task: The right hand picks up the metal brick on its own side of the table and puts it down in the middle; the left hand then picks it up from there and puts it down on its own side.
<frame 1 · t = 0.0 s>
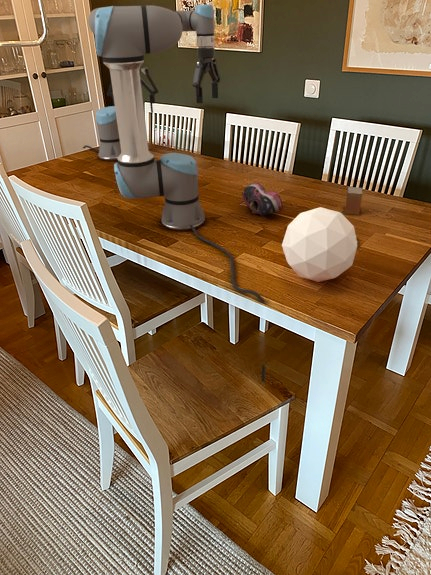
left hand: (207, 100, 200), 28 cm above the table, tool pointing down, fingers open, 13 cm apart
right hand: (135, 113, 181), 28 cm above the table, tool pointing down, fingers open, 13 cm apart
decorative object: (328, 239, 142), on the table
sphere: (315, 275, 123), on the table
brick: (352, 211, 160), on the table
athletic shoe: (257, 211, 163), on the table
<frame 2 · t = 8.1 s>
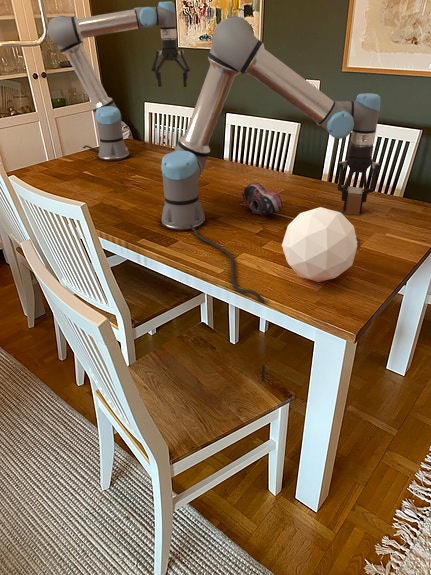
left hand: (172, 86, 227), 30 cm above the table, tool pointing down, fingers open, 13 cm apart
right hand: (352, 209, 160), 1 cm above the table, tool pointing down, fingers closed on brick, 5 cm apart
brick: (352, 211, 160), on the table, touching right hand
everything else where it was.
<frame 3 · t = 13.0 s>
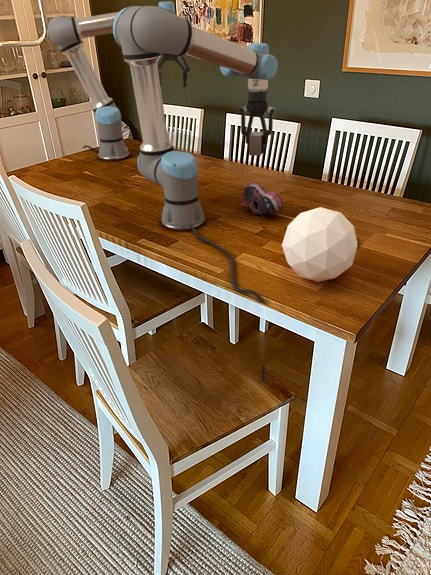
left hand: (172, 86, 227), 30 cm above the table, tool pointing down, fingers open, 13 cm apart
right hand: (256, 152, 179), 14 cm above the table, tool pointing down, fingers closed on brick, 5 cm apart
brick: (256, 153, 180), point 13 cm above the table, touching right hand
everything else where it was.
when the right hand's fingers open (2 cm above the table, at t = 17.8 s): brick drops 1 cm, on the table.
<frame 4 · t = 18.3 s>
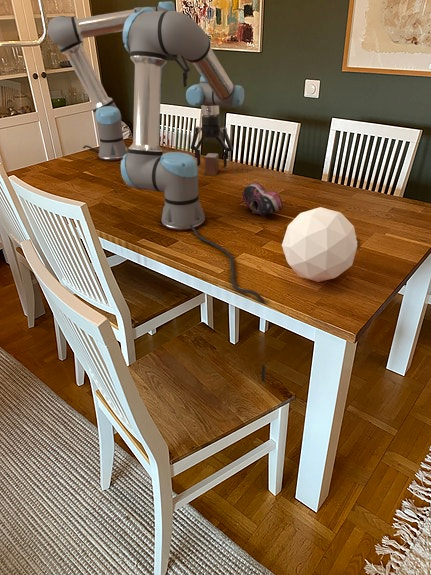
left hand: (172, 86, 227), 30 cm above the table, tool pointing down, fingers open, 13 cm apart
right hand: (212, 165, 200), 3 cm above the table, tool pointing down, fingers open, 11 cm apart
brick: (212, 172, 201), on the table
everything else where it was.
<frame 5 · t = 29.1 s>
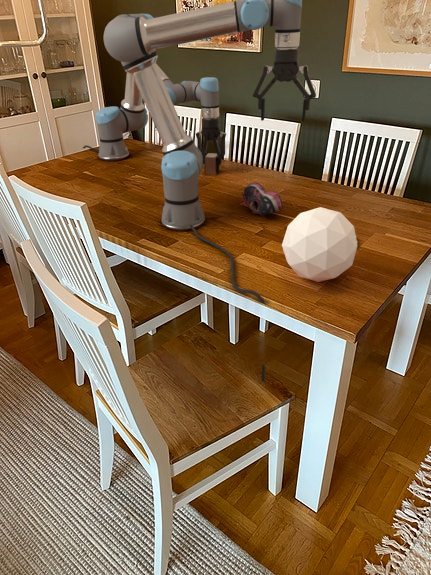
left hand: (212, 171, 201), 1 cm above the table, tool pointing down, fingers closed on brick, 5 cm apart
right hand: (282, 120, 148), 31 cm above the table, tool pointing down, fingers open, 13 cm apart
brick: (212, 172, 201), on the table, touching left hand
everything else where it was.
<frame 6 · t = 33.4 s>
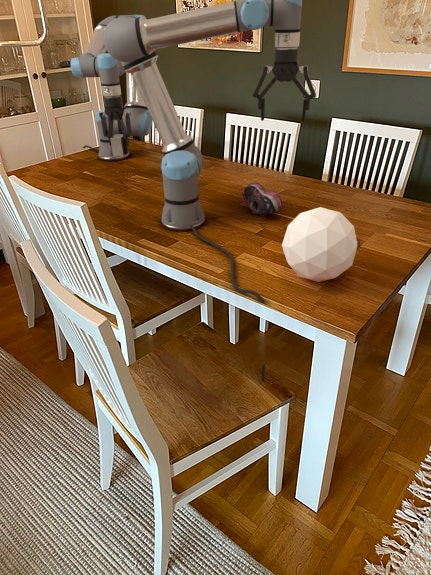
left hand: (120, 153, 194), 11 cm above the table, tool pointing down, fingers closed on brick, 5 cm apart
right hand: (282, 120, 148), 31 cm above the table, tool pointing down, fingers open, 13 cm apart
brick: (120, 154, 194), point 10 cm above the table, touching left hand
everything else where it was.
when the left hand's fingers open (2 cm above the table, at t = 37.7 s): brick drops 1 cm, on the table.
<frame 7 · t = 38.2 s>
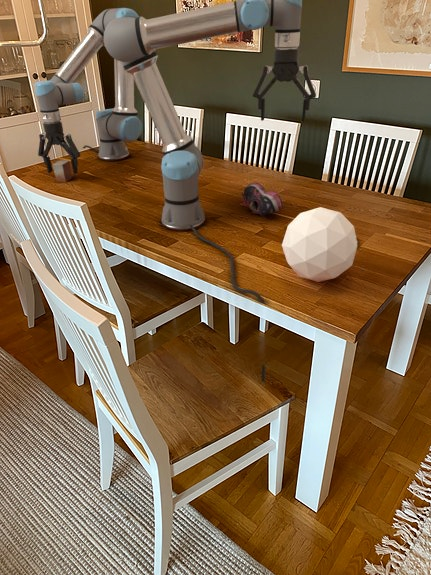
left hand: (63, 172, 197), 3 cm above the table, tool pointing down, fingers open, 12 cm apart
right hand: (282, 120, 148), 31 cm above the table, tool pointing down, fingers open, 13 cm apart
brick: (64, 179, 198), on the table
everything else where it was.
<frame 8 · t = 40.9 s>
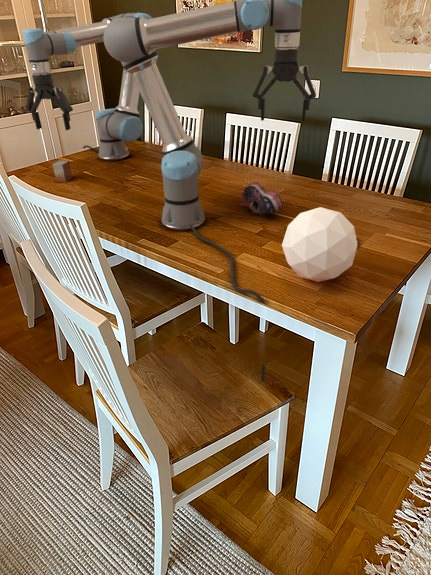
left hand: (53, 129, 187), 22 cm above the table, tool pointing down, fingers open, 13 cm apart
right hand: (282, 120, 148), 31 cm above the table, tool pointing down, fingers open, 13 cm apart
nothing on the table moved.
at the end: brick inside the target area (0.1 cm from its centre), on the table; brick tilted 0°; the two hands never held the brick at the same time; the left hand is holding nothing; the right hand is holding nothing; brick at rest at the end (0.0 cm/s) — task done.
